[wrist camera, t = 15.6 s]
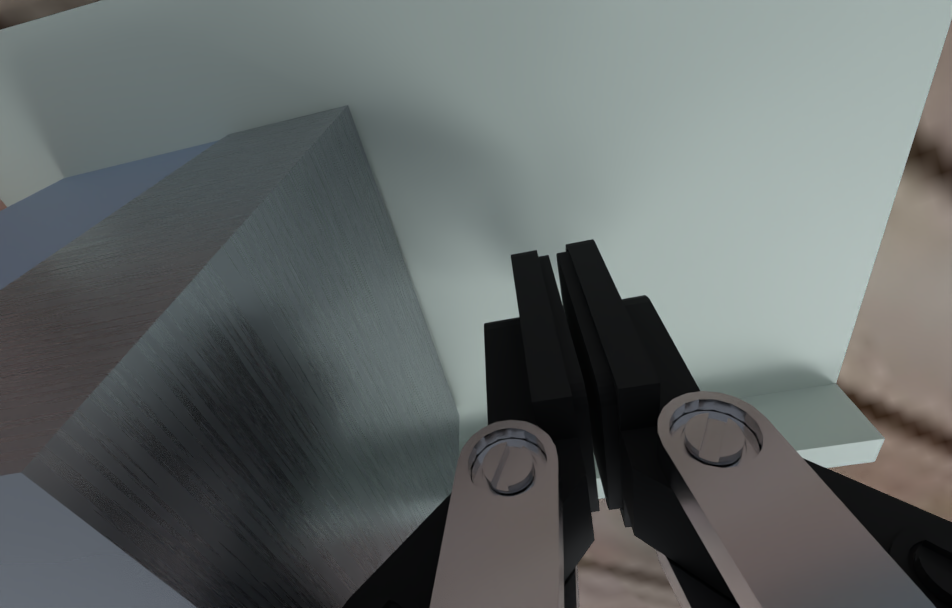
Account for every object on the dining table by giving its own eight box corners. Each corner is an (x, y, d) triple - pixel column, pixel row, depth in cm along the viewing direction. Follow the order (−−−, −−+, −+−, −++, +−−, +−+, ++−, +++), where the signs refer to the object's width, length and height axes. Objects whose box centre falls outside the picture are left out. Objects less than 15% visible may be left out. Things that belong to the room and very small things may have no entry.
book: (236, 136, 10) (-18, 318, 5) (382, 423, 15) (338, 657, 10) (64, 178, 10) (-338, 385, 5) (264, 442, 15) (163, 675, 10)
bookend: (347, 105, 9) (19, 474, 2) (459, 416, 14) (451, 802, 8) (227, 134, 9) (-359, 534, 3) (380, 429, 14) (306, 811, 8)
